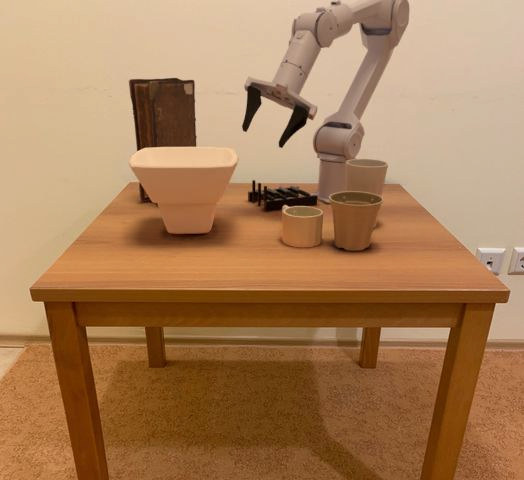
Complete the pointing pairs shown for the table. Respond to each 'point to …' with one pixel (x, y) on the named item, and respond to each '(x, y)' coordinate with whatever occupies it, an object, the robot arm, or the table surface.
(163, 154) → the bowl
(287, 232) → the beige mug
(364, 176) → the cup
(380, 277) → the table surface
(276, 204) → the rack
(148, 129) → the book
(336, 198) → the flower pot
